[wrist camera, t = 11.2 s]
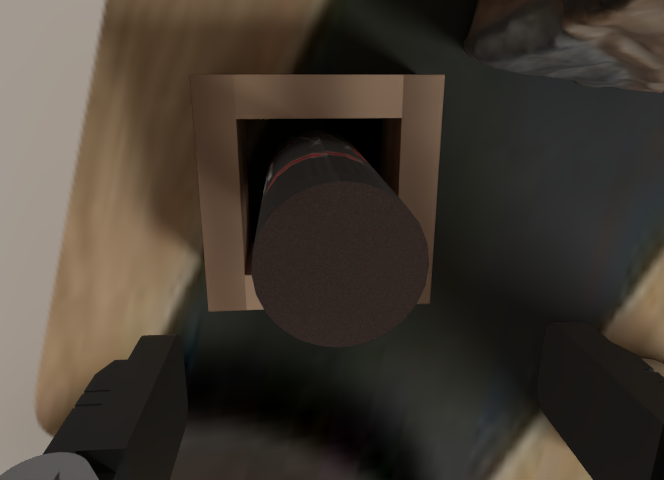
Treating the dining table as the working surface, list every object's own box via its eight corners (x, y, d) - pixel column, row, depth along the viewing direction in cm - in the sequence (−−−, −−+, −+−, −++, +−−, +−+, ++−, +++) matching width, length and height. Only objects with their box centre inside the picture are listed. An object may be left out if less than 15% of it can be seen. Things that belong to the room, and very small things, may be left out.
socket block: (417, 74, 30) (444, 74, 25) (407, 267, 34) (429, 303, 28) (206, 74, 29) (189, 74, 24) (221, 273, 33) (208, 311, 27)
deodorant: (264, 130, 30) (244, 183, 16) (365, 127, 31) (433, 177, 16) (269, 227, 32) (256, 352, 18) (364, 223, 32) (425, 342, 18)
